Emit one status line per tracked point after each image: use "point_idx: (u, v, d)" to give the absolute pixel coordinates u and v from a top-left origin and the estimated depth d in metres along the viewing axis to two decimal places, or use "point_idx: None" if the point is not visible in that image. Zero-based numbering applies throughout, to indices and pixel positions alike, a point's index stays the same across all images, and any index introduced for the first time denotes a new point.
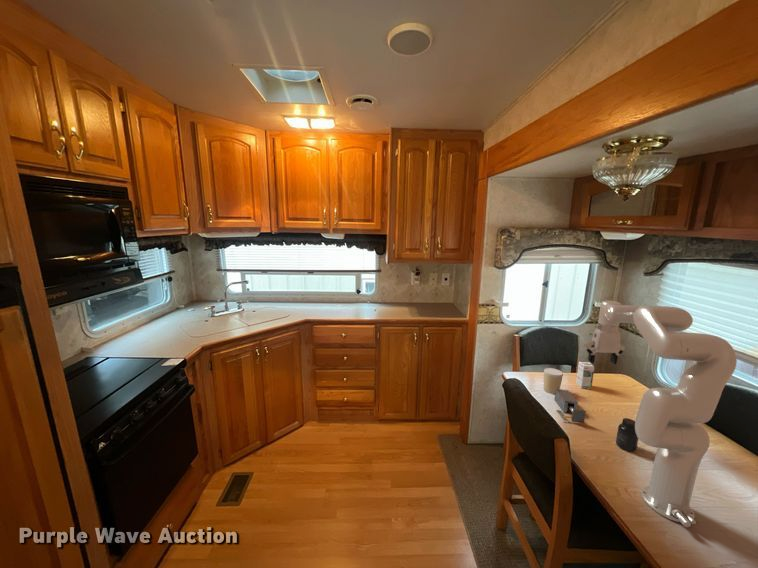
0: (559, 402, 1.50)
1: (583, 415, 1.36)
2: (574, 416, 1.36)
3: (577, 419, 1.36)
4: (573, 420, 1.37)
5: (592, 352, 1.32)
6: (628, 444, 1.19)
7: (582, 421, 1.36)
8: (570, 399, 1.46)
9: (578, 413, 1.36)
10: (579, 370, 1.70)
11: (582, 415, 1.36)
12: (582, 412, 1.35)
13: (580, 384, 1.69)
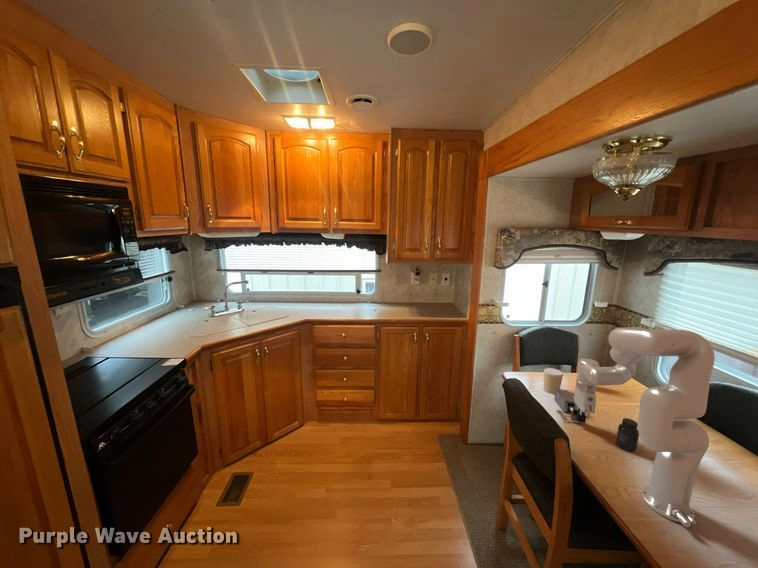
0: (559, 402, 1.50)
1: None
2: (573, 415, 1.37)
3: None
4: (572, 419, 1.38)
5: None
6: (628, 444, 1.19)
7: None
8: (570, 399, 1.46)
9: None
10: None
11: None
12: None
13: None
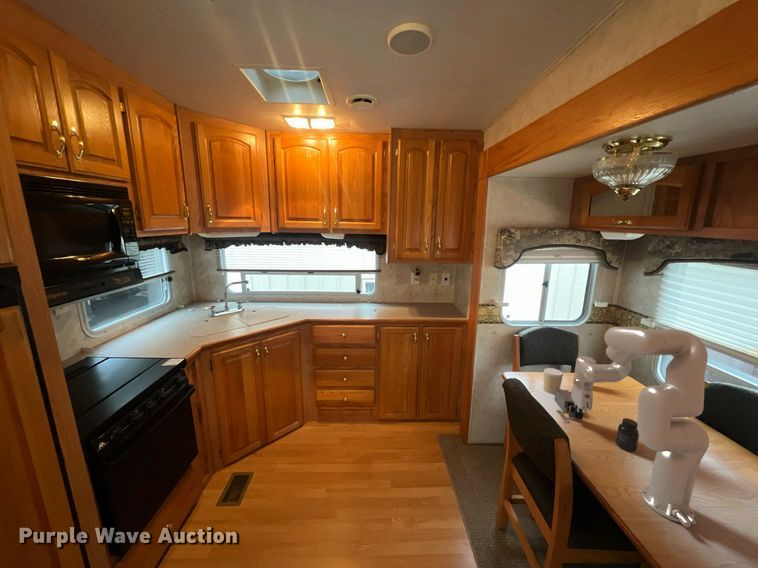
0: (559, 402, 1.50)
1: None
2: (571, 412, 1.40)
3: None
4: (570, 416, 1.40)
5: None
6: (628, 444, 1.19)
7: None
8: (570, 399, 1.46)
9: None
10: None
11: None
12: None
13: None
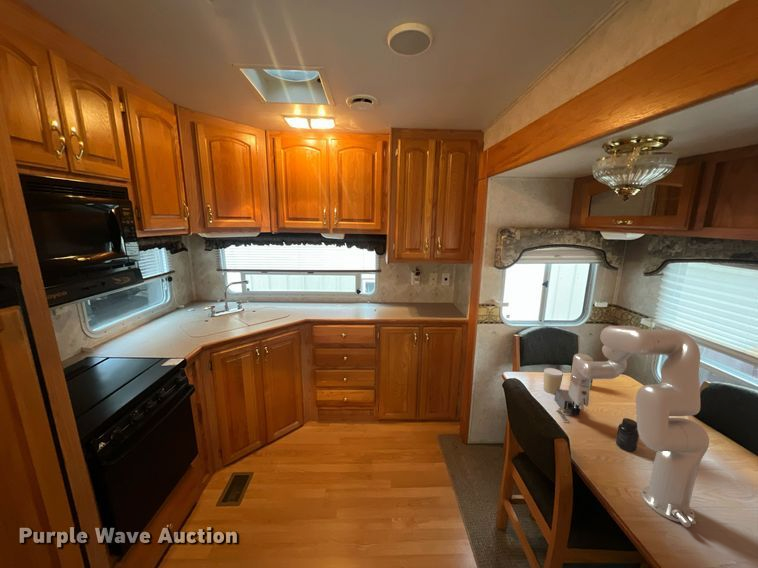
0: (559, 402, 1.50)
1: None
2: (568, 408, 1.42)
3: None
4: (567, 412, 1.43)
5: None
6: (628, 444, 1.19)
7: None
8: (570, 399, 1.46)
9: (572, 405, 1.42)
10: None
11: None
12: None
13: None
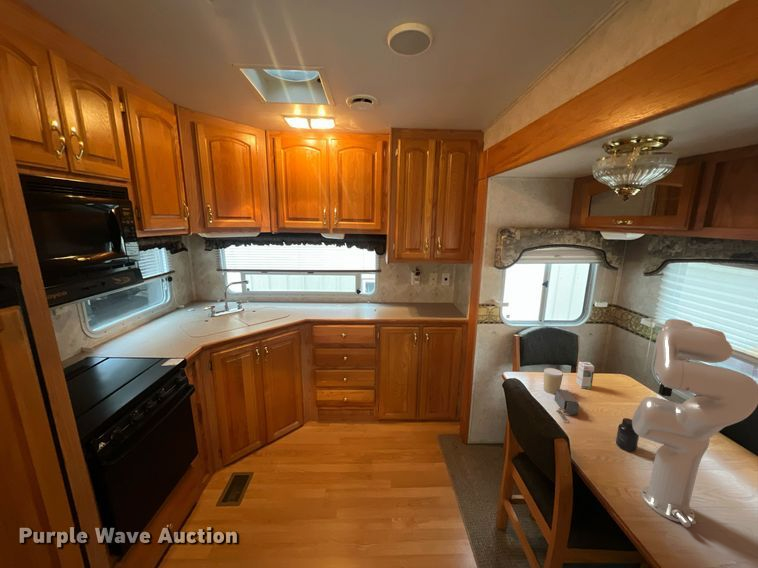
0: (559, 402, 1.50)
1: (577, 407, 1.42)
2: (568, 408, 1.42)
3: (571, 411, 1.42)
4: (567, 412, 1.43)
5: None
6: (628, 444, 1.19)
7: (576, 413, 1.42)
8: (570, 399, 1.46)
9: (572, 405, 1.42)
10: (579, 370, 1.70)
11: (576, 407, 1.42)
12: (576, 404, 1.41)
13: (580, 384, 1.69)
